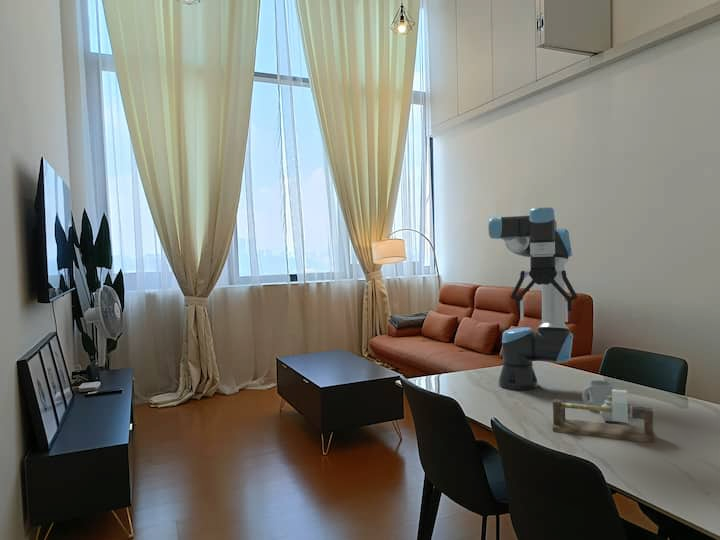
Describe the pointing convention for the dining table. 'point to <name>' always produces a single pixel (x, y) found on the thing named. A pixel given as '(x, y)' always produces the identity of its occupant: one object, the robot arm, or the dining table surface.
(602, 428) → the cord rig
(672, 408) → the dining table surface
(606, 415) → the ornament
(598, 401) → the cup
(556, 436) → the dining table surface
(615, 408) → the sleeve
